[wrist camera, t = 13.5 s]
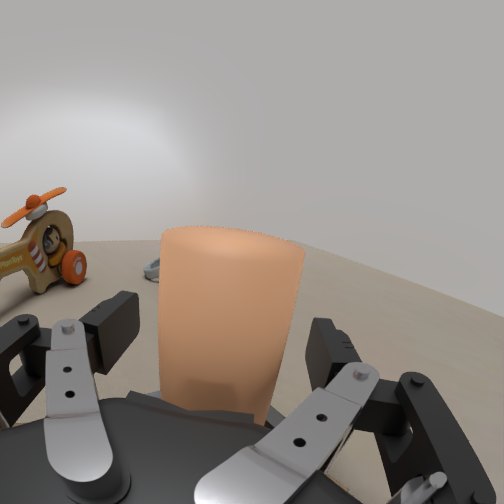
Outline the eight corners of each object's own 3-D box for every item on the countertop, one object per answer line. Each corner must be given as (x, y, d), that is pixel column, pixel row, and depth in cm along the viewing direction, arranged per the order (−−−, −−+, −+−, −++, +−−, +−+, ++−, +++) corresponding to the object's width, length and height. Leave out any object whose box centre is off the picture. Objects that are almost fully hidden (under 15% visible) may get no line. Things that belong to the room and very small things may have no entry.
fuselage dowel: (194, 503, 9) (204, 267, 6) (153, 442, 12) (144, 225, 9) (268, 469, 11) (333, 257, 9) (221, 420, 15) (248, 227, 12)
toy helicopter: (91, 277, 38) (92, 186, 35) (1, 338, 17) (-19, 196, 14) (54, 269, 37) (53, 186, 34) (-34, 318, 17) (-50, 197, 14)
